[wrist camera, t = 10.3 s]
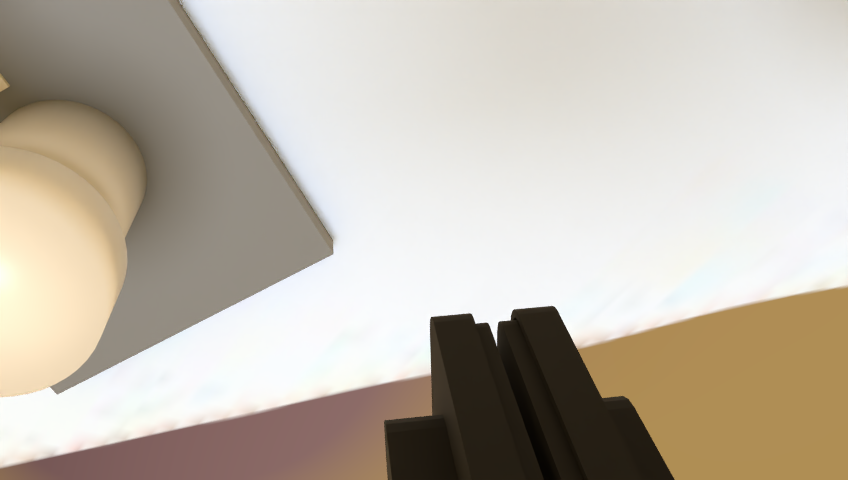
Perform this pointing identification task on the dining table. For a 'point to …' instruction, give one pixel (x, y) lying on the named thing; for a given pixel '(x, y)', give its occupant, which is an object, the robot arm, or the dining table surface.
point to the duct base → (154, 160)
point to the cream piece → (52, 270)
